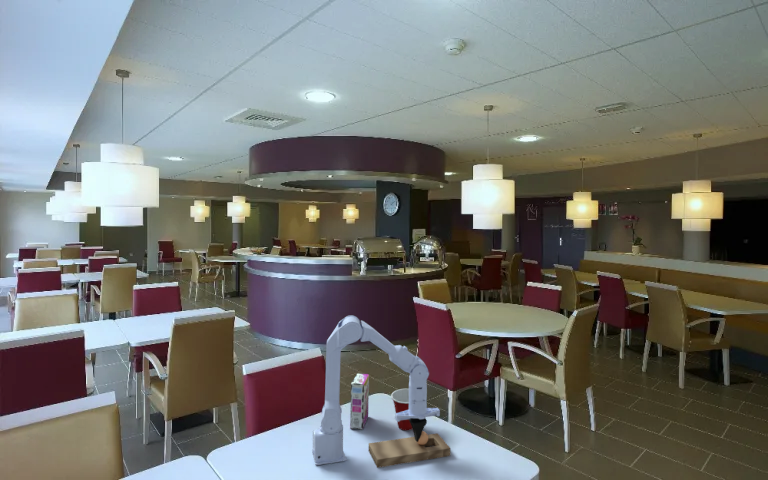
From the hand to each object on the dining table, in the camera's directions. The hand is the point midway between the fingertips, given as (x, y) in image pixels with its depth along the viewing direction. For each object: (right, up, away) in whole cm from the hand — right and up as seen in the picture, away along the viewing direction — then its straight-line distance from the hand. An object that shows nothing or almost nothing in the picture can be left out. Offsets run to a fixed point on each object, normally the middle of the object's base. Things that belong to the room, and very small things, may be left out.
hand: (417, 440), depth 138 cm
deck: (-3, -4, -1) cm, 5 cm away
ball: (+2, 0, 0) cm, 2 cm away
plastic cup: (-3, -4, +17) cm, 18 cm away
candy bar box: (-19, -3, +20) cm, 29 cm away
